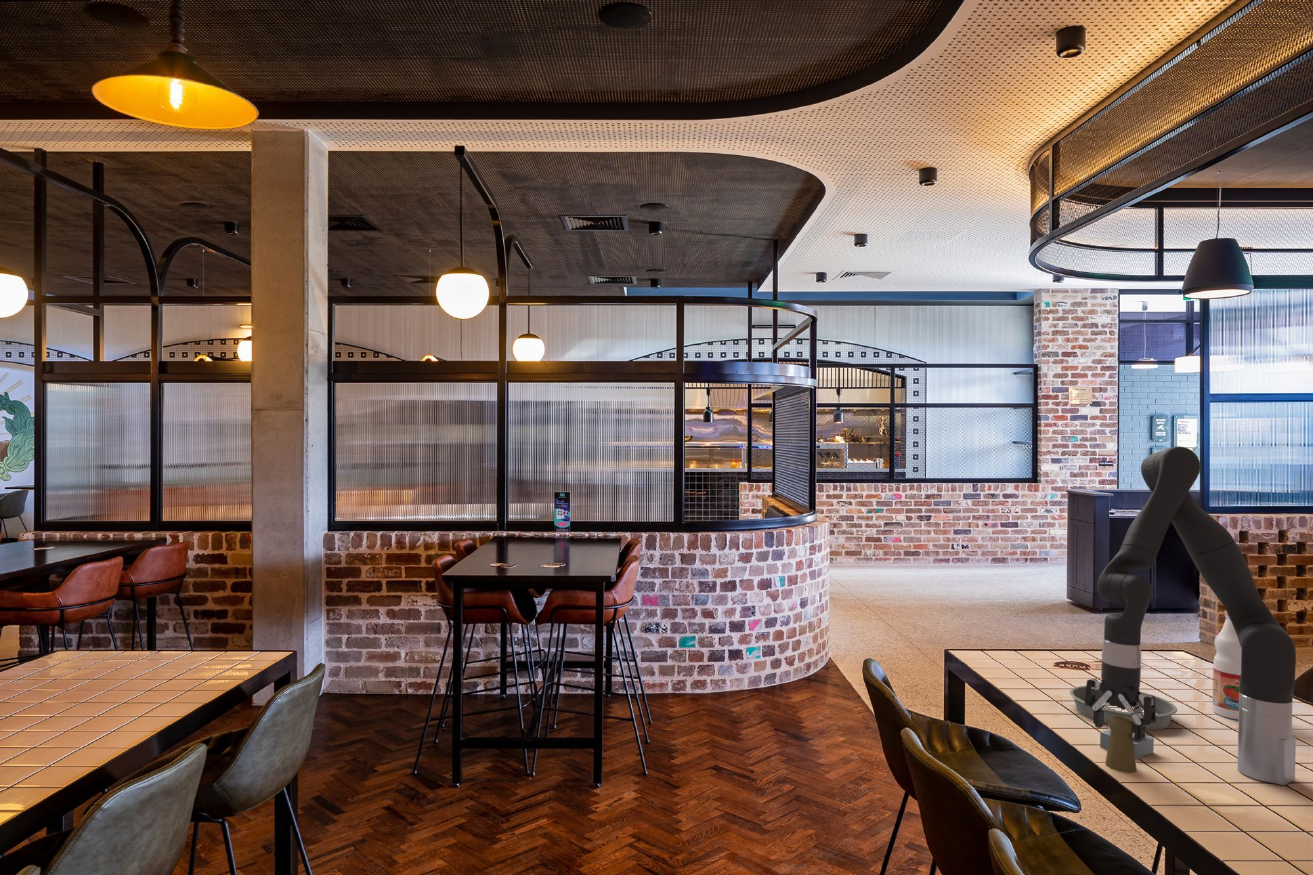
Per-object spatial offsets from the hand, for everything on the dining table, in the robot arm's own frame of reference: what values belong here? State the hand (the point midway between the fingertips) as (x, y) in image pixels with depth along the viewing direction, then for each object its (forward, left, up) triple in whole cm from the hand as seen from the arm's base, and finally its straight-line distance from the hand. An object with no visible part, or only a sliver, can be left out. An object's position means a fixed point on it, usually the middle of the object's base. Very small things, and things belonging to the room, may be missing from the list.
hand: (1118, 733), depth 172 cm
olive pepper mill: (-1, 0, -7) cm, 7 cm away
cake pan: (+17, -36, -8) cm, 40 cm away
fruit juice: (+2, -64, -7) cm, 64 cm away
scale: (+4, -11, -7) cm, 14 cm away
